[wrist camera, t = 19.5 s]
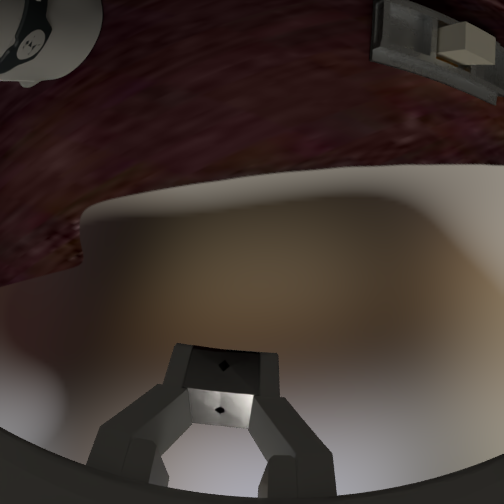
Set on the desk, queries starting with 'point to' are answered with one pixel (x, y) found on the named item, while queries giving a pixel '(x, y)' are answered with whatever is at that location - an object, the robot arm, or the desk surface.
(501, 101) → the desk surface
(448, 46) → the block
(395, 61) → the rack
